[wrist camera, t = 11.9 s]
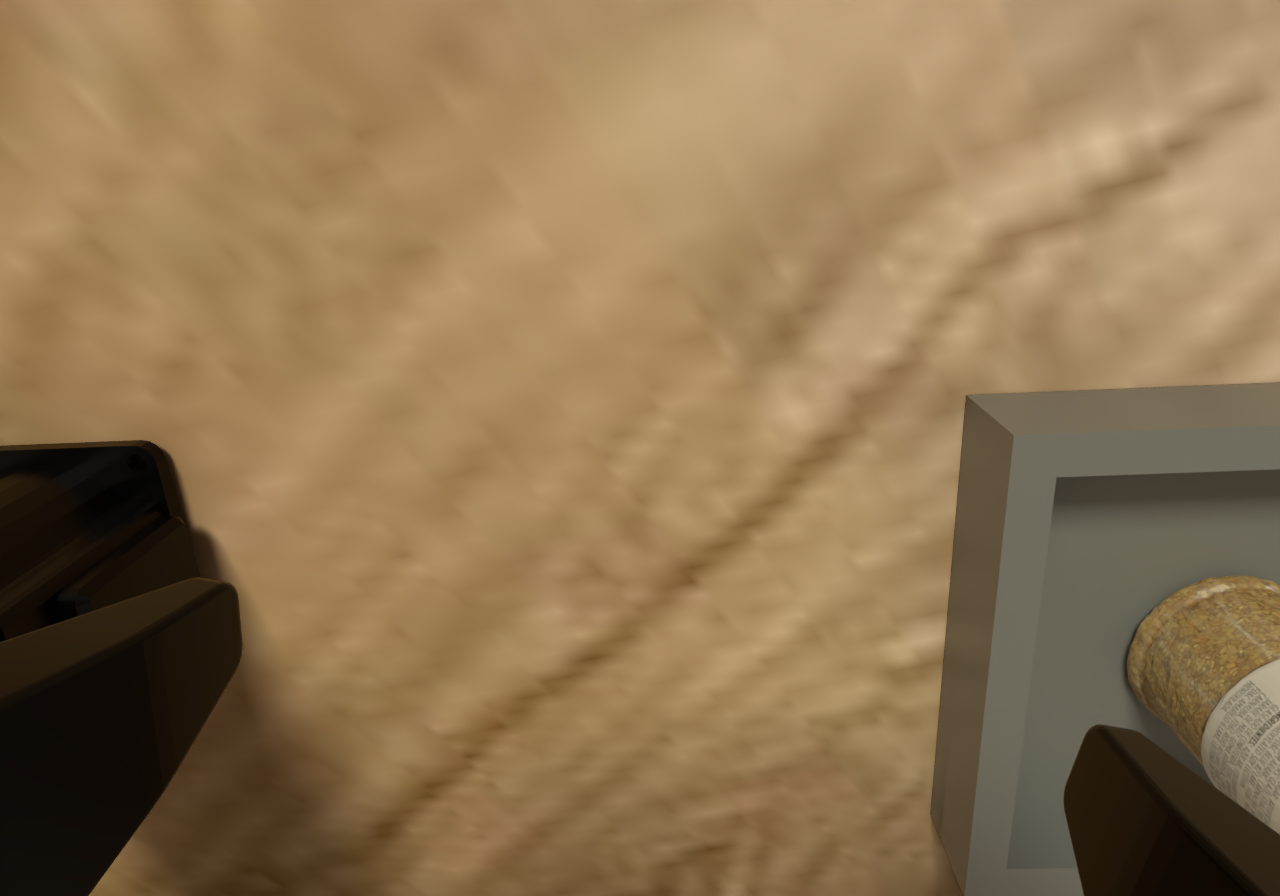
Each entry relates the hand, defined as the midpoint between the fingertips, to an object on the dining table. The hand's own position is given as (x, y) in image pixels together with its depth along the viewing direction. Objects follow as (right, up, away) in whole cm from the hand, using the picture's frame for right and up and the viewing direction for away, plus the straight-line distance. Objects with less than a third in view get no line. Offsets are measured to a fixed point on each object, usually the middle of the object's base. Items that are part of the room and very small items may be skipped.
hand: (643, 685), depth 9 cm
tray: (+15, -2, +14) cm, 20 cm away
